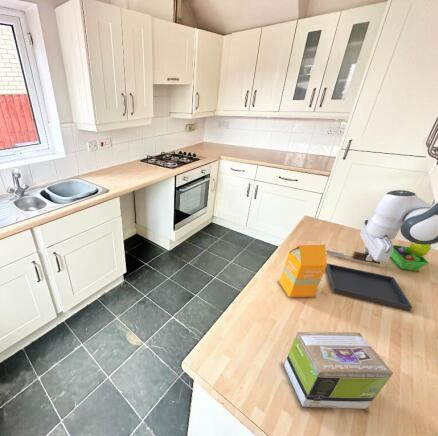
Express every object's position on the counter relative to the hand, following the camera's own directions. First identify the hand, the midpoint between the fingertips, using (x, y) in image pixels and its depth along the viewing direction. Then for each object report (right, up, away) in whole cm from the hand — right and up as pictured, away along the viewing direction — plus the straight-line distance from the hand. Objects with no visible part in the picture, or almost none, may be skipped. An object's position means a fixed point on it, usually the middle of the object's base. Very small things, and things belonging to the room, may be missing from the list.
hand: (366, 257), depth 101 cm
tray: (-11, -9, -11) cm, 18 cm away
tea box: (-48, -26, -40) cm, 68 cm away
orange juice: (-37, -10, -11) cm, 39 cm away
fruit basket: (+16, -3, +1) cm, 17 cm away
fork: (-4, 0, +2) cm, 5 cm away
